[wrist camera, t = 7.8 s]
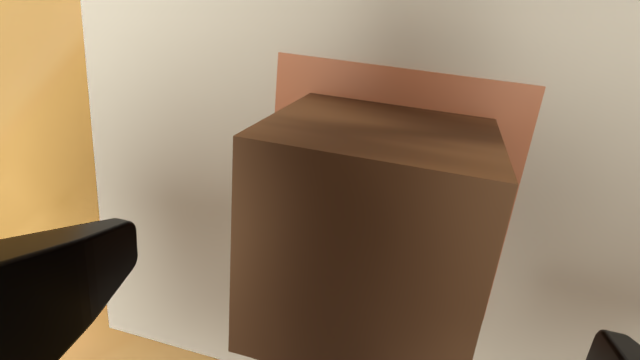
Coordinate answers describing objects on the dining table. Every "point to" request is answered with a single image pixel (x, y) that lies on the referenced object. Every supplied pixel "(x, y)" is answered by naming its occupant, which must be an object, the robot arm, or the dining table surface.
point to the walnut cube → (365, 231)
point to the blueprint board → (384, 87)
